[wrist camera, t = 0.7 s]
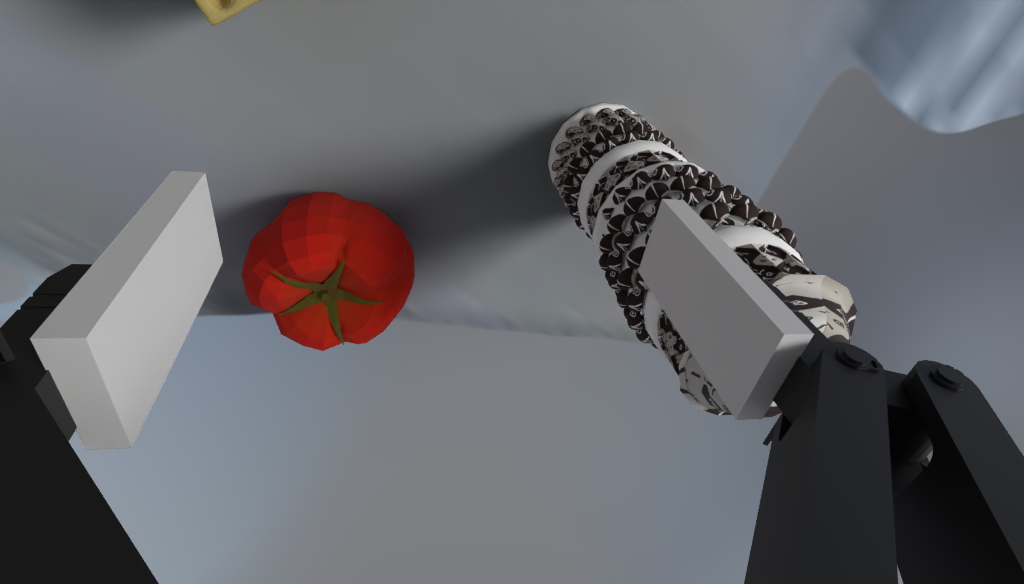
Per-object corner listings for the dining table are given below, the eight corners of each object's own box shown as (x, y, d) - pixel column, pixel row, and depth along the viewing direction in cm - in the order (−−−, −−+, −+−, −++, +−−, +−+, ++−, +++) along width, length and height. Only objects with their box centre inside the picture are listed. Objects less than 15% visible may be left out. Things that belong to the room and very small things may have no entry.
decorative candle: (569, 80, 38) (762, 262, 18) (674, 117, 41) (941, 306, 21) (526, 193, 43) (642, 439, 23) (623, 218, 46) (802, 454, 26)
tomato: (424, 281, 46) (429, 350, 38) (282, 305, 45) (261, 380, 37) (398, 165, 39) (399, 221, 32) (233, 189, 38) (195, 253, 31)
